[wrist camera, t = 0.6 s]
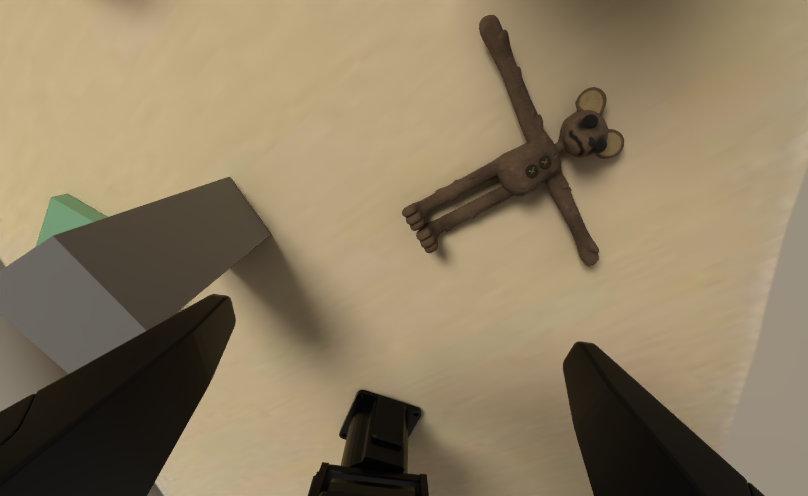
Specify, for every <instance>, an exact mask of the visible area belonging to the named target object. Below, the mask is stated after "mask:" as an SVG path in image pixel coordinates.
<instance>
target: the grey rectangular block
mask: <svg viewBox="0 0 808 496" xmlns="http://www.w3.org/2000/svg"><path fill="white" fill-rule="evenodd" d="M269 235H271V233H270V231H269V230H268V229H267V227H266V226H265V225H264V223H263V222H262V221H261V219H260V218H259V216H258V215H257V214H256V212H255V211H254V210H253V208H252V207H251V205H250V204H249V203H248V201H247V200H246V199H245V197H244V196H243V195H242V193H241V192H240V190H239V189H238V188H237V186H236V185H235V184H234V182H233V181H232V179H231V178H230V177H227V178H224V179H221V180H218V181H215V182H212V183H209V184H206V185H203V186H200V187H197V188H194V189H191V190H188V191H185V192H182V193H179V194H176V195H173V196H170V197H167V198H164V199H161V200H158V201H155V202H152V203H149V204H146V205H143V206H140V207H137V208H134V209H131V210H128V211H125V212H122V213H119V214H116V215H113V216H110V217H107V218H104V219H101V220H98V221H95V222H92V223H89V224H86V225H83V226H80V227H77V228H74V229H71V230H68V231H65V232H62V233H59V234H56V235H53V236H51V237H50V238H48V239H47V240H46V241H44V242H43V243H41V244H40V245H38V246H37V247H35V248H34V249H32V250H31V251H29V252H28V253H26V254H25V255H23V256H22V257H20V258H19V259H17V260H16V261H14V262H13V263H11V264H10V265H8V266H7V267H5V268H4V269H3V270H1V271H0V315H1V316H3V317H4V318H5V319H6V320H7V321H8V322H10V323H11V324H12V325H13V326H14V327H15V328H16V329H18V330H19V331H20V332H21V333H22V334H24V335H25V336H26V337H27V338H28V339H29V340H30V341H32V342H33V343H34V344H35V345H36V346H37V347H38V348H40V349H41V350H42V351H43V352H44V353H45V354H47V355H48V356H49V357H50V358H51V359H52V360H54V361H55V362H56V363H57V364H58V365H59V366H60V367H61V368H63V369H64V370H65V371H66V372H67V373H68V374H69V373H71V372H73V371H75V370H76V369H78V368H80V367H82V366H84V365H85V364H87V363H89V362H91V361H93V360H94V359H96V358H98V357H100V356H102V355H103V354H105V353H107V352H109V351H111V350H112V349H114V348H116V347H118V346H120V345H121V344H123V343H125V342H127V341H129V340H130V339H132V338H134V337H136V336H137V335H139V334H141V333H143V332H145V331H146V330H148V329H150V328H152V327H154V326H155V325H157V324H159V323H161V322H163V321H164V320H166V319H168V318H170V317H171V316H172V315H174V314H175V313H176V312H177V311H179V310H180V309H181V308H182V307H183V306H185V305H186V304H187V303H188V302H189V301H191V300H192V299H193V298H194V297H196V296H197V295H198V294H199V293H200V292H202V291H203V290H204V289H205V288H206V287H208V286H209V285H210V284H211V283H212V282H214V281H215V280H216V279H217V278H219V277H220V276H221V275H222V274H223V273H225V272H226V271H227V270H228V269H229V268H231V267H232V266H233V265H234V264H235V263H237V262H238V261H239V260H240V259H242V258H243V257H244V256H245V255H246V254H248V253H249V252H250V251H251V250H252V249H254V248H255V247H256V246H257V245H258V244H260V243H261V242H262V241H263V240H265V239H266V238H267V237H268V236H269Z"/></svg>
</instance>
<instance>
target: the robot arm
mask: <svg viewBox="0 0 808 496" xmlns="http://www.w3.org/2000/svg"><path fill="white" fill-rule="evenodd" d="M235 322H236V319H235V314H234V310H233V305H232V301H231V298H230V297H229V296H226V295H218V294H212V295H209V296H207V297H206V298H204V299H202V300H200V301H198V302H197V303H195V304H193V305H191V306H190V307H188V308H186V309H184V310H182V311H181V312H179V313H177V314H175V315H173V316H172V317H170V318H168V319H166V320H164V321H163V322H161V323H159V324H157V325H155V326H154V327H152V328H150V329H148V330H146V331H145V332H143V333H141V334H139V335H137V336H136V337H134V338H132V339H130V340H129V341H127V342H125V343H123V344H121V345H120V346H118V347H116V348H114V349H112V350H111V351H109V352H107V353H105V354H103V355H102V356H100V357H98V358H96V359H94V360H93V361H91V362H89V363H87V364H85V365H84V366H82V367H80V368H78V369H76V370H75V371H73V372H71V373H69V374H68V375H66V376H64V377H62V378H60V379H59V380H57V381H55V382H53V383H51V384H50V385H48V386H46V387H44V388H42V389H41V390H39V391H38V392H37V393H36V394H32V395H30V396H28V397H26V398H24V399H22V400H21V401H19V402H17V403H15V404H13V405H12V406H10V407H8V408H6V409H5V410H3V411H1V412H0V496H147V495H148V493H149V491H150V489H151V488H152V486H153V484H154V482H155V480H156V479H157V477H158V475H159V473H160V472H161V470H162V468H163V466H164V464H165V463H166V461H167V459H168V457H169V455H170V454H171V452H172V450H173V448H174V447H175V445H176V443H177V441H178V439H179V438H180V436H181V434H182V432H183V431H184V429H185V427H186V425H187V423H188V422H189V420H190V418H191V416H192V415H193V413H194V411H195V409H196V407H197V406H198V404H199V402H200V400H201V398H202V397H203V395H204V393H205V391H206V389H207V388H208V386H209V384H210V382H211V380H212V378H213V375H214V373H215V371H216V369H217V366H218V364H219V362H220V359H221V357H222V355H223V352H224V350H225V348H226V345H227V343H228V341H229V338H230V336H231V334H232V331H233V329H234V326H235ZM563 372H564V377H565V383H566V388H567V393H568V399H569V404H570V409H571V415H572V420H573V424H574V429H575V432H576V436H577V440H578V443H579V446H580V450H581V453H582V457H583V460H584V463H585V467H586V470H587V474H588V477H589V480H590V484H591V487H592V491H593V494H594V496H764V495H763V494H762V493H761V492H760V491H759V490H757V488H755V487H754V486H753V485H752V484H751V483H747V480H746V479H745V478H744V477H743V476H742V475H741V474H739V472H737V471H736V470H735V469H734V468H733V467H732V466H731V465H730V464H728V463H727V462H726V461H725V460H724V459H723V458H722V457H721V456H720V455H718V454H717V453H716V452H715V451H714V450H713V449H712V448H711V447H709V446H708V445H707V444H706V443H705V442H704V441H703V440H702V439H701V438H699V437H698V436H697V435H696V434H695V433H694V432H693V431H692V430H690V429H689V428H688V427H687V426H686V425H685V424H684V423H683V422H681V421H680V420H679V419H678V418H677V417H676V416H675V415H674V414H673V413H671V412H670V411H669V410H668V409H667V408H666V407H665V406H664V405H662V404H661V403H660V402H659V401H658V400H657V399H656V398H655V397H654V396H652V395H651V394H650V393H649V392H648V391H647V390H646V389H645V388H643V387H642V386H641V385H640V384H639V383H638V382H637V381H636V380H634V379H633V378H632V377H631V376H630V375H629V374H628V373H627V372H626V371H624V370H623V369H622V368H621V367H620V366H619V365H618V364H617V363H615V362H614V361H613V360H612V359H611V358H610V357H609V356H608V355H606V354H605V353H604V352H603V351H602V350H601V349H600V348H599V347H598V346H596V345H595V344H593V343H588V342H580V341H579V342H576V343H575V344H574V345H573V347H572V348H571V350H570V352H569V353H568V355H567V357H566V358H565V360H564V363H563ZM361 395H363V396H361ZM420 417H421V409H420V408H418V407H415V406H412V405H408V404H405V403H402V402H399V401H396V400H393V399H390V398H387V397H383V396H380V395H377V394H374V393H371V392H368V391H365V390H359V391H358V392H357V394H356V396H355V399H354V401H353V403H352V405H351V408H350V410H349V412H348V414H347V416H346V419H345V421H344V423H343V425H342V428H341V430H340V434H339V436H340V437H341V438H342V439H346V444H345V448H344V453H343V458H342V462H341V466H339V465H330V464H329V463H324V462H322V465H321V468H320V470H319V472H317V474H316V475H315V476H313V480H312V483H311V487H310V490H309V493H308V496H429V493H428V484H427V475H426V474H420V475H416V474H408V473H407V466H408V438H409V436H410V434H411V432H412V431H413V429H414V427H415V425H416V424H417V422H418V420H419V418H420Z"/></svg>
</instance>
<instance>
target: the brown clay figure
mask: <svg viewBox="0 0 808 496" xmlns="http://www.w3.org/2000/svg"><path fill="white" fill-rule="evenodd" d="M479 30H480V34H481V37H482V39H483V41H484V43H485V44H486V46H487V48H488V49H489V51H490V53H491V54H492V56H493V58H494V60H495V62H496V64H497V66H498V68H499V70H500V72H501V75H502V77H503V80H504V83H505V85H506V88H507V91H508V93H509V96H510V99H511V101H512V104H513V107H514V109H515V112H516V115H517V118H518V120H519V123H520V126H521V128H522V131H523V133H524V136H525V138H526V140H527V143H525V144H524V145H522V146H520V147H518V148H516V149H513V150H511V151H509V152H507V153H504V154H503V155H501V156H500V157H498V158H497V159H496V160H494V161H492V162H491V163H489V164H487V165H485V166H483V167H481V168H480V169H478V170H476V171H474V172H472V173H471V174H469V175H467V176H465V177H463V178H462V179H459V180H456V181H454V182H453V183H452V184H450V185H449V186H447V187H444V188H441V189H438V190H437V191H436V192H435V193H434V194H432V195H431V196H429V197H427V198H425V199H423V200H421V201H419V202H416V203H413V204H411V205H409V206H407V207H406V208H404V209H403V211H402V214H403V216H405V217H406V222H407V223H408V224H409V225H410V227H411V229H412V230H414V231H416V230H419V231H418V232H417V234H416V236H417V239H418V240H420V243H421V246H422V247H423V248H424V249H425V251H426V252H427V253H432V252H434V251H435V250H436V249H437V248H438V236H439V234H440V233H442V232H444V231H445V232H447V231H449V230H451V229H452V228H453V227H454V226H456V225H457V224H459V223H461V222H463V221H465V220H467V219H469V218H474V217H475V216H476V215H478V214H479V213H481V212H483V211H485V210H487V209H489V208H491V207H493V206H495V205H497V204H499V203H501V202H503V201H505V200H507V199H509V198H511V197H513V196H521V195H525V194H527V193H529V192H530V191H533V190H534V189H535V188H536V187H537V186H538V185H539V184H540V183H541V182H543V181H544V180H545V183H546V185H547V187H548V189H549V191H550V193H551V195H552V197H553V199H554V201H555V202H556V204H557V206H558V208H559V209H560V211H561V213H562V215H563V217H564V219H565V221H566V223H567V224H568V226H569V228H570V230H571V232H572V234H573V237H574V239H575V242H576V245H577V249H578V252H579V256H580V258H581V260H582V261H583V263H585V264H586V265H589V266H590V265H593V264H595V263H596V262H597V261H598V259H599V256H598V253H599V249H598V247H597V245H596V244H595V242H594V241H593V240H592V238H591V236H590V234H589V233H588V231H587V229H586V227H585V225H584V223H583V220H582V218H581V215H580V213H579V210H578V208H577V206H576V204H575V202H574V199H573V197H572V194H571V188H570V187H569V185H568V182H567V181H566V179H565V177H564V176H563V174H562V170H561V160H560V157H559V152H560V151H562V150H565V151H566V152H568V153H569V154H571V155H573V156H576V157H585V156H589V155H591V154H593V153H595V154H596V156H597V157H599V158H602V159H606V158H611V157H614V156H616V155H617V154H619V153H620V152H621V150H622V149H623V146H624V138H623V136H622V134H621V133H620V132H618V131H616V130H612V129H608V127H607V125H606V122H605V120H604V118H603V117H601V115H602V112H603V110H604V108H605V105H606V95H605V93H604V92H603V91H602V90H601V89H599V88H596V87H592V88H588V89H586V90H585V91H583V92H582V93H581V94H580V95H579V96H578V98H577V100H576V108H577V112H575V113H574V114H572V115H571V116H570V117H568V118H567V119H566V120H565V121H564V122H563V124H562V127H561V130H560V136H559V140H558V142H557V143H556V144H554V143H553V141H552V140H551V138H550V137H549V136H548V135H547V134H546V132H545V131H544V129H543V120H542V117H541V115H540V114H539V115H538V114H537V112H536V109H535V107H534V105H533V103H532V101H531V99H530V96H529V94H528V91H527V89H526V87H525V84H524V81H523V79H522V74H521V69H520V67H517V64H516V62H515V59H514V57H513V54H512V50H511V47H510V42H509V36H508V32H507V31H506V30H503V29H502V27H501V24H500V22H499V20H498V18H497V17H496V16H495V15H488V16H485V17H483V18H482V19H481V21H480V24H479ZM495 176H498V178H499V180H500V182H501V184H502V186H501V187H499V188H497V189H495V190H493V191H491V192H489V193H487V194H485V195H483V196H481V197H479V198H477V199H475V200H473V201H472V202H470V203H468V204H466V205H464V206H462V207H460V208H458V209H456V210H454V211H452V212H450V213H448V214H446V215H444V216H442V217H441V218H439V219H437V220H435V221H432V222H429V223H426V224H425V221H424V218H425V216H426V215H427V214H428V213H429V212H430V211H432V210H434V209H436V208H438V207H439V206H441V205H443V204H445V203H447V202H449V201H451V200H454V199H456V198H457V197H459V196H460V195H462V194H464V193H465V192H467V191H469V190H471V189H473V188H475V187H477V186H478V185H480V184H482V183H484V182H486V181H488V180H490V179H492V178H493V177H495Z"/></svg>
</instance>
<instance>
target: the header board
mask: <svg viewBox="0 0 808 496" xmlns="http://www.w3.org/2000/svg"><path fill="white" fill-rule="evenodd" d="M104 218H107V217H106V216H105V215H103V214H101V213H100V212H98V211H96V210H94V209H93V208H91V207H89V206H88V205H86V204H84V203H83V202H81V201H79V200H77V199H76V198H74V197H72V196H71V195H69V194H64V195H59V196H55V197H51V199H50V202H49V205H48V209H47V212H46V215H45V218H44V222H43V225H42V228H41V231H40V234H39V238H38V241H37V244H36V247H37V246H38V245H40V244H41V243H43V242H44V241H46V240H47V239H48V238H50V237H51V236H53V235H56V234H59V233H62V232H65V231H68V230H71V229H74V228H77V227H80V226H83V225H86V224H89V223H92V222H95V221H98V220H101V219H104Z"/></svg>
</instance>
